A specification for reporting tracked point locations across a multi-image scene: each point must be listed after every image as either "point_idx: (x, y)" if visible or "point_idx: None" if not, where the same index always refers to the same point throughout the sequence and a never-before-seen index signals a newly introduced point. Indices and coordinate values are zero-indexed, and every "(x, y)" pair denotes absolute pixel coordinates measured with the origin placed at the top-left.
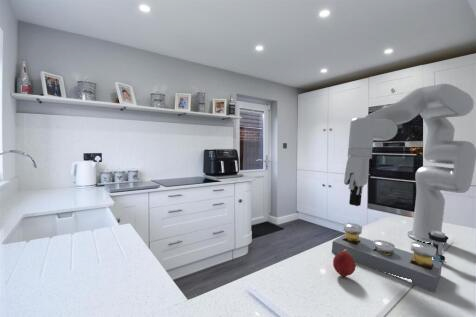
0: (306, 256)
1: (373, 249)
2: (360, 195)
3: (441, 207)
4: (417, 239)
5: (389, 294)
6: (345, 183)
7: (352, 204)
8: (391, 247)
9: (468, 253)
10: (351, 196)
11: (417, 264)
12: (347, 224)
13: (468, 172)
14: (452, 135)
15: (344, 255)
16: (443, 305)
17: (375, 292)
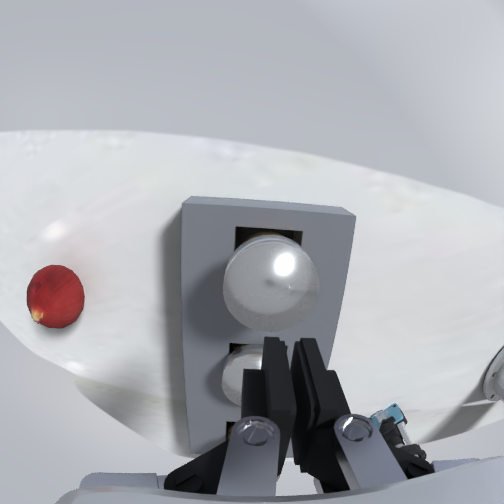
0: (86, 150)
1: (242, 343)
2: (297, 464)
3: None
4: (495, 362)
5: (101, 371)
6: (86, 501)
7: (262, 360)
8: (239, 404)
9: (464, 429)
10: (266, 398)
11: (230, 433)
12: (266, 262)
13: None
14: None
15: (30, 312)
16: (157, 434)
17: (81, 350)
